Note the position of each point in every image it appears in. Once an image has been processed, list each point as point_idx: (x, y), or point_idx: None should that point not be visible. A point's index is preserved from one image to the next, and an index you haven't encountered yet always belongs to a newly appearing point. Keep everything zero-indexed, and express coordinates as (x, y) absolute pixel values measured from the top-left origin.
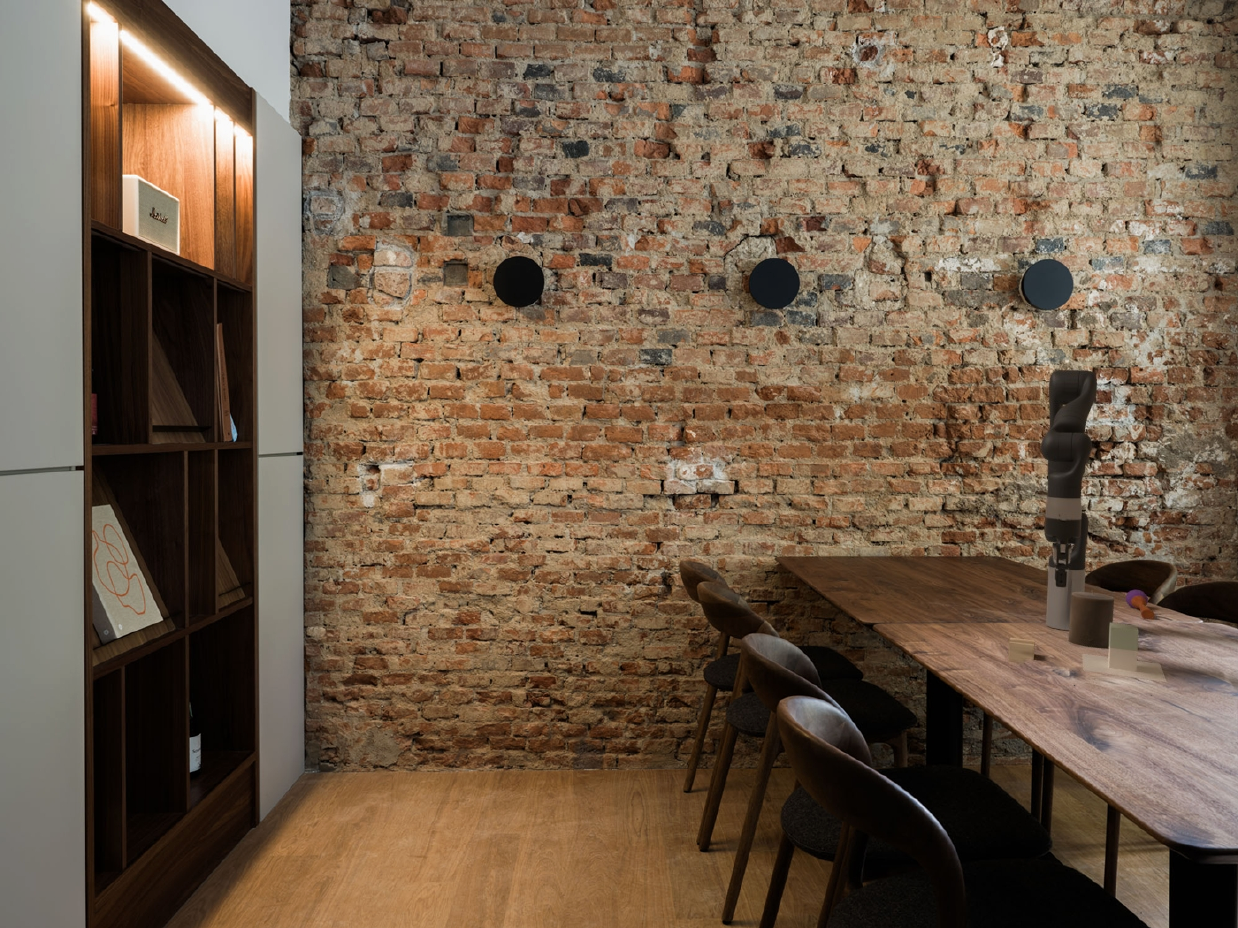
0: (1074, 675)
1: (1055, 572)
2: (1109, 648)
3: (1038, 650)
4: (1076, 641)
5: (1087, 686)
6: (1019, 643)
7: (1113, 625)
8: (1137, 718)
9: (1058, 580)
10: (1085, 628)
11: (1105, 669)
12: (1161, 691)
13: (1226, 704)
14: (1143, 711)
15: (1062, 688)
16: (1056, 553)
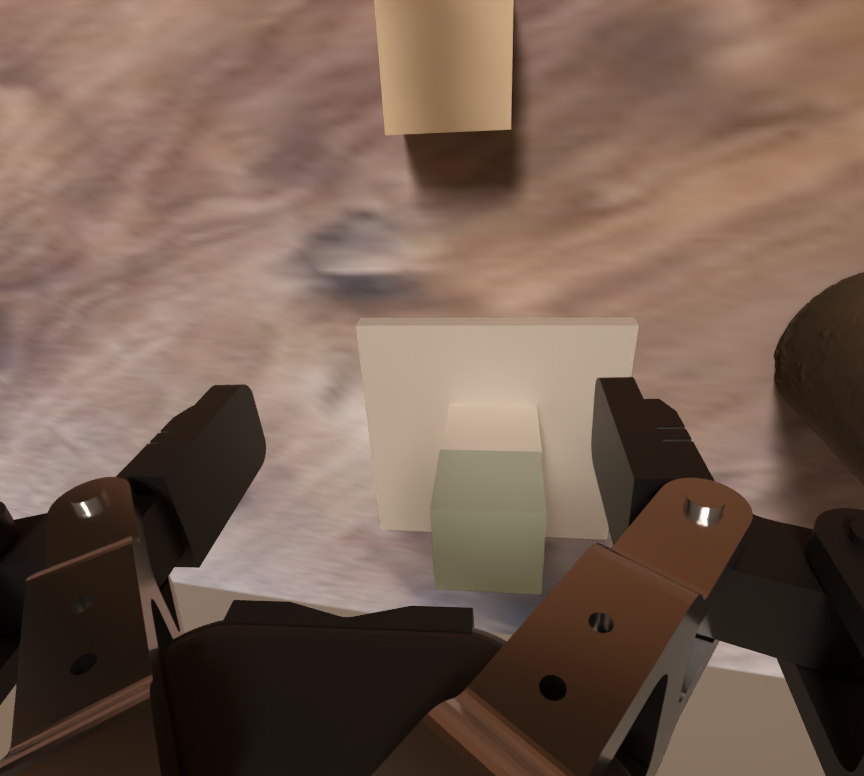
0: (341, 290)
1: (612, 425)
2: (477, 443)
3: (711, 129)
4: (834, 309)
5: (228, 329)
6: (385, 49)
7: (482, 520)
8: (27, 431)
9: (160, 435)
10: (844, 376)
11: (421, 393)
12: (330, 502)
13: (316, 601)
14: (100, 447)
15: (138, 254)
16: (259, 688)
